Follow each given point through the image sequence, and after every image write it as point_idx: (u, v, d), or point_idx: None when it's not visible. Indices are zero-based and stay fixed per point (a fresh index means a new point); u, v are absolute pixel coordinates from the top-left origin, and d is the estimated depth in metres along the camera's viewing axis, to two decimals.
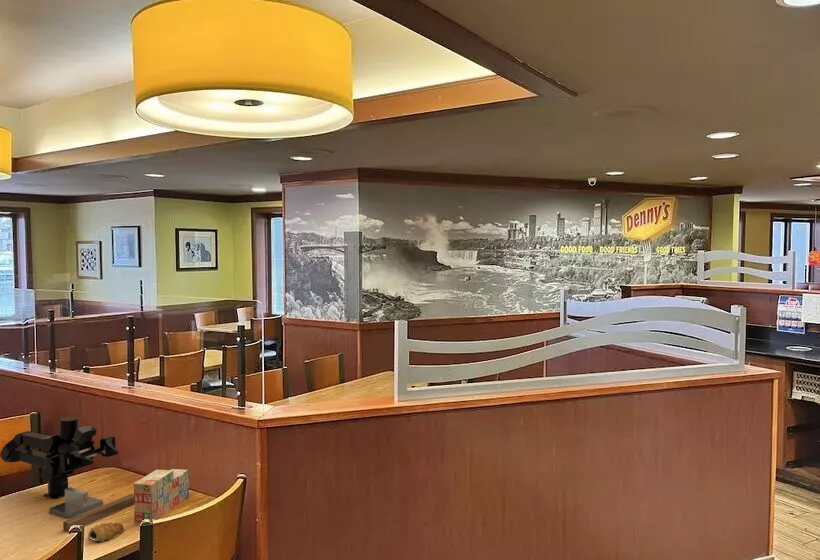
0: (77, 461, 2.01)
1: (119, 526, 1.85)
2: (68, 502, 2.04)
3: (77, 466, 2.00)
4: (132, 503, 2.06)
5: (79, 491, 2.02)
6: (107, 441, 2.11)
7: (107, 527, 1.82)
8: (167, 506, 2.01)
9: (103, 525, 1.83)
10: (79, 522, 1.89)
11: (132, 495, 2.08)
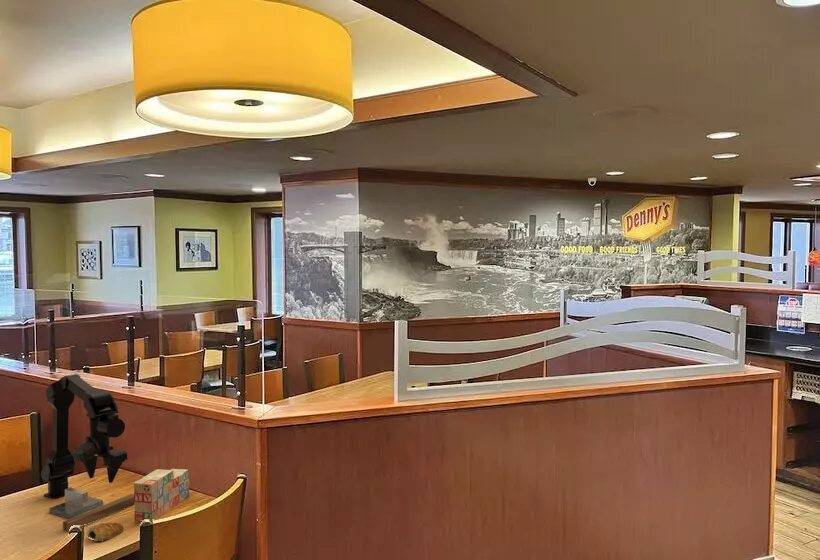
0: None
1: (118, 526, 1.86)
2: (68, 502, 2.04)
3: None
4: (132, 503, 2.06)
5: (79, 491, 2.02)
6: (105, 465, 1.92)
7: (106, 527, 1.82)
8: (167, 506, 2.01)
9: (102, 525, 1.83)
10: (79, 522, 1.89)
11: (132, 495, 2.07)
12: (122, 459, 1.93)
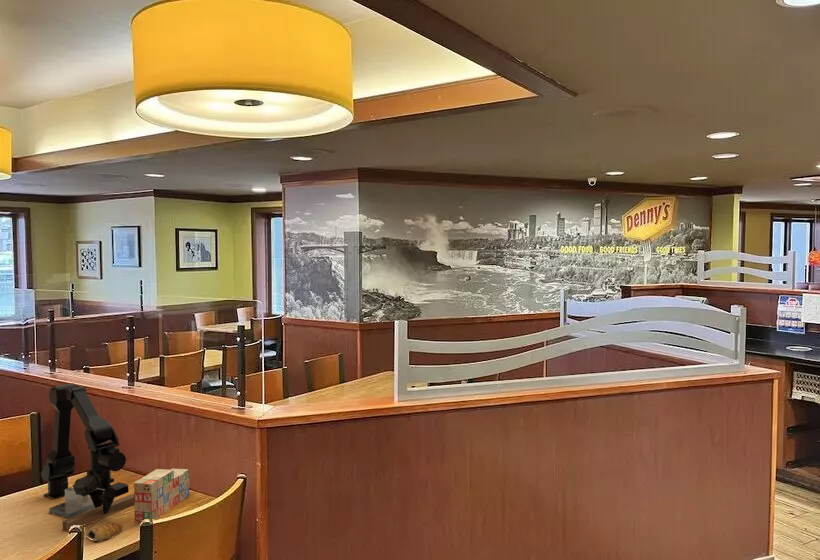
0: None
1: (117, 526, 1.86)
2: (68, 502, 2.04)
3: None
4: (133, 503, 2.06)
5: None
6: (100, 497, 1.94)
7: (105, 527, 1.83)
8: (167, 505, 2.01)
9: (101, 525, 1.83)
10: (78, 521, 1.89)
11: (133, 495, 2.07)
12: (123, 492, 1.94)
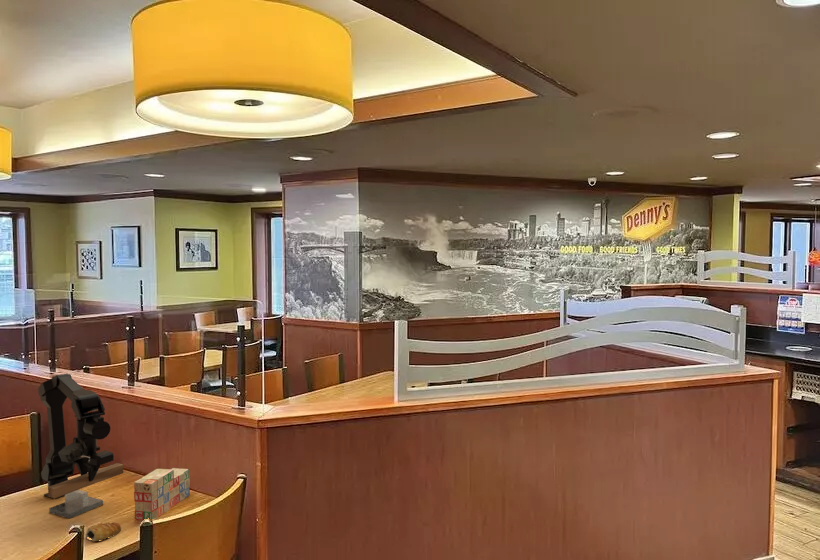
0: None
1: (116, 525, 1.86)
2: (68, 502, 2.04)
3: None
4: (118, 472, 2.09)
5: (79, 491, 2.02)
6: (85, 464, 1.97)
7: (104, 527, 1.83)
8: (167, 505, 2.02)
9: (100, 525, 1.83)
10: (64, 487, 1.92)
11: (118, 464, 2.10)
12: (108, 460, 1.96)
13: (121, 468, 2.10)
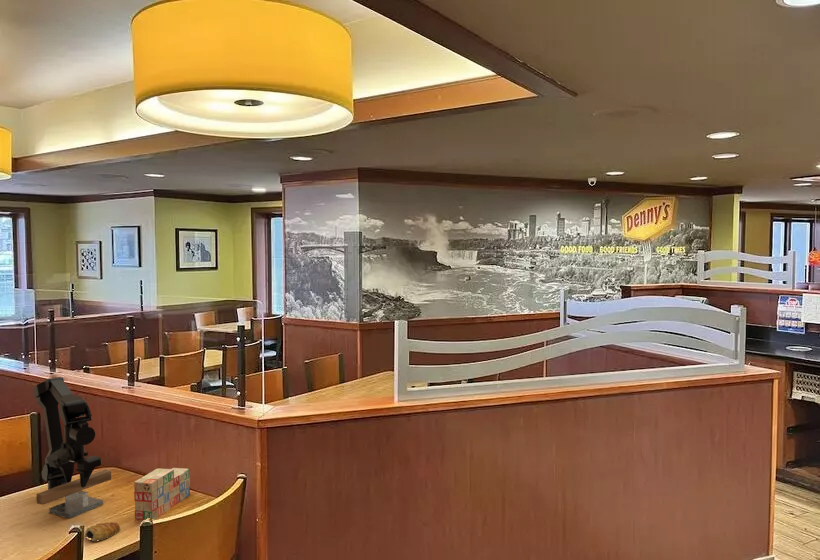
0: None
1: (115, 525, 1.86)
2: (68, 502, 2.04)
3: None
4: (106, 478, 2.11)
5: (79, 491, 2.02)
6: (77, 470, 1.98)
7: (103, 527, 1.83)
8: (167, 505, 2.02)
9: (99, 525, 1.84)
10: (52, 494, 1.94)
11: (106, 470, 2.13)
12: (96, 465, 1.99)
13: (109, 474, 2.12)
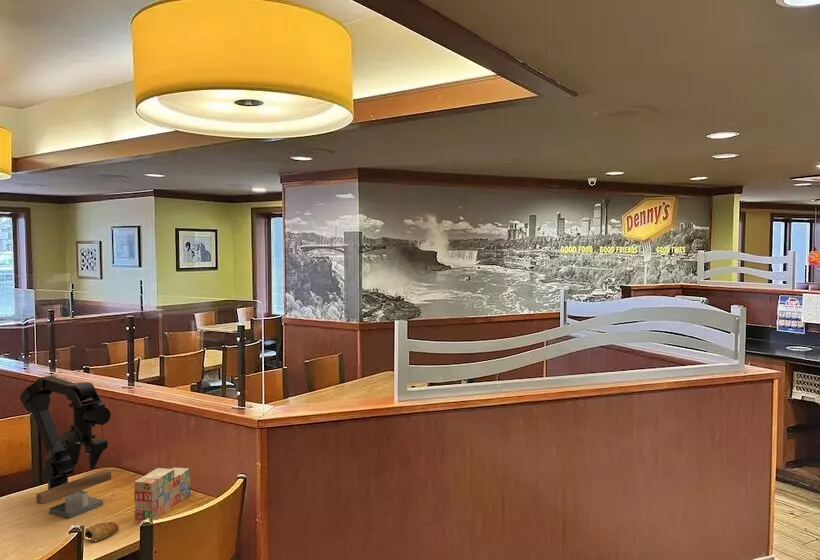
0: None
1: (114, 525, 1.86)
2: (68, 502, 2.04)
3: None
4: (106, 478, 2.11)
5: (79, 491, 2.02)
6: None
7: (102, 526, 1.83)
8: (168, 504, 2.02)
9: (98, 525, 1.84)
10: (52, 494, 1.94)
11: (106, 470, 2.13)
12: (102, 447, 2.05)
13: (109, 474, 2.12)
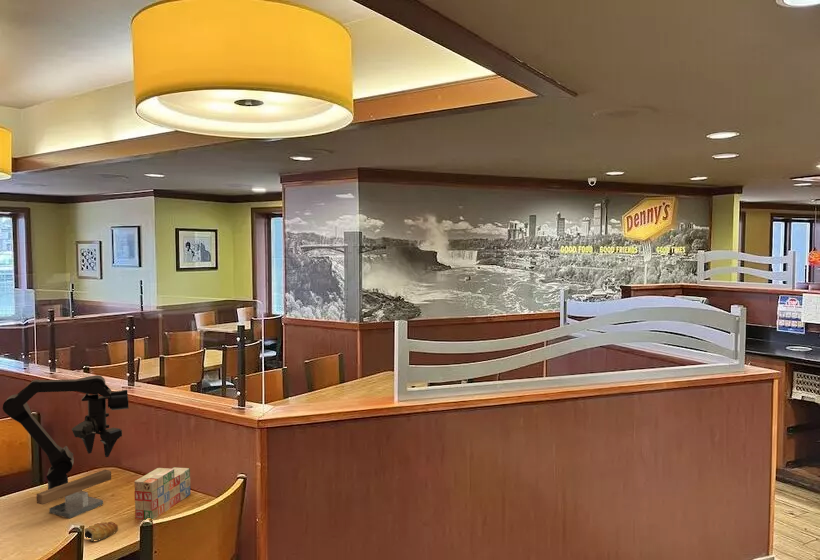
0: None
1: (113, 525, 1.86)
2: (68, 502, 2.04)
3: None
4: (106, 478, 2.11)
5: (79, 491, 2.02)
6: (102, 441, 2.15)
7: (102, 526, 1.83)
8: (168, 504, 2.02)
9: (97, 525, 1.84)
10: (52, 494, 1.94)
11: (106, 470, 2.13)
12: (117, 436, 2.16)
13: (109, 474, 2.12)
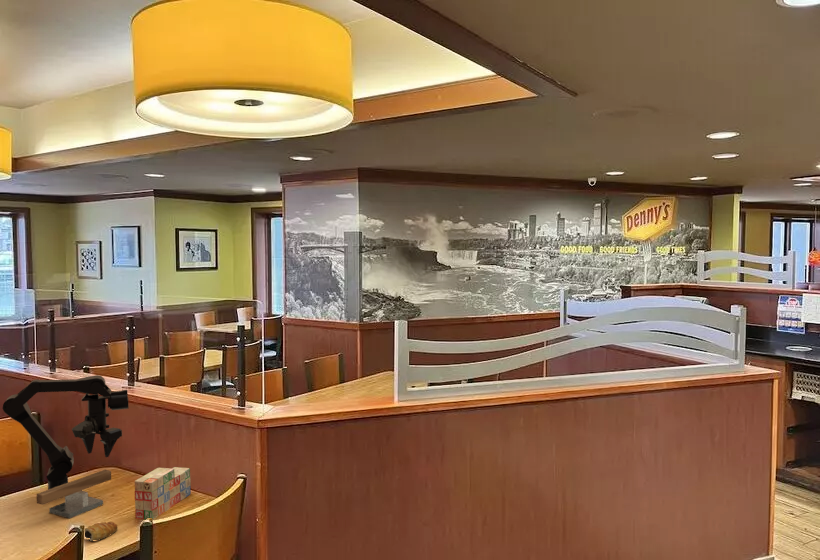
0: None
1: (113, 525, 1.86)
2: (68, 502, 2.04)
3: None
4: (106, 478, 2.11)
5: (79, 491, 2.02)
6: (102, 441, 2.15)
7: (101, 526, 1.83)
8: (168, 504, 2.02)
9: (97, 524, 1.84)
10: (52, 494, 1.94)
11: (106, 470, 2.13)
12: (117, 436, 2.16)
13: (109, 474, 2.12)
